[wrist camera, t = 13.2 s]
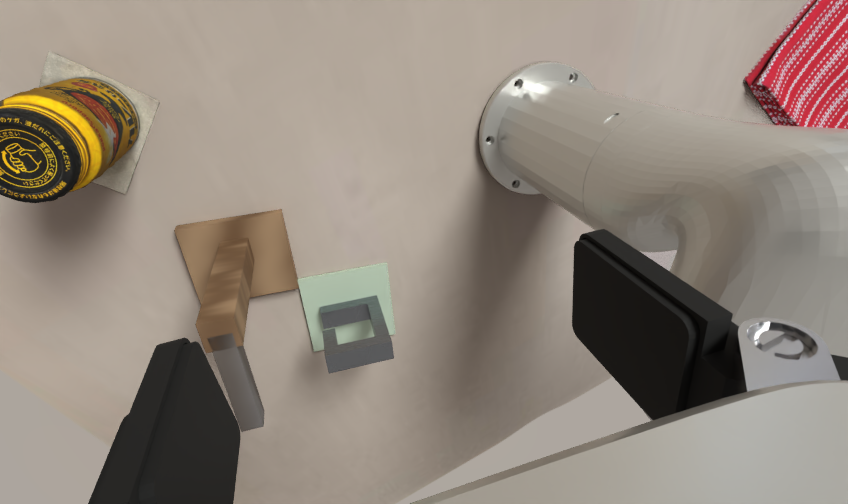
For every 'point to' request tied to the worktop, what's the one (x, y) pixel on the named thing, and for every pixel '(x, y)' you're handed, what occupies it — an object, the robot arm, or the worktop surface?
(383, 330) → the link
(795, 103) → the dish towel
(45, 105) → the condiment
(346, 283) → the mat
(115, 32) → the worktop surface
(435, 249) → the worktop surface
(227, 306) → the stand
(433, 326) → the worktop surface
